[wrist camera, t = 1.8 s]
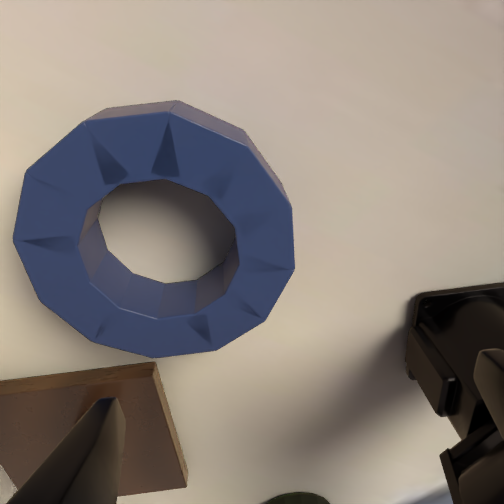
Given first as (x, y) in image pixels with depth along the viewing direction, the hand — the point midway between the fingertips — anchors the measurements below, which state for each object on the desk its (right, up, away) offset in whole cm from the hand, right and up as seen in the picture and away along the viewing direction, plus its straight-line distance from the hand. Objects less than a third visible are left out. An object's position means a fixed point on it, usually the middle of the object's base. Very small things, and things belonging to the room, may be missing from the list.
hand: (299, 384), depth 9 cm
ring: (-5, +5, +9) cm, 11 cm away
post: (-12, -9, +16) cm, 21 cm away
